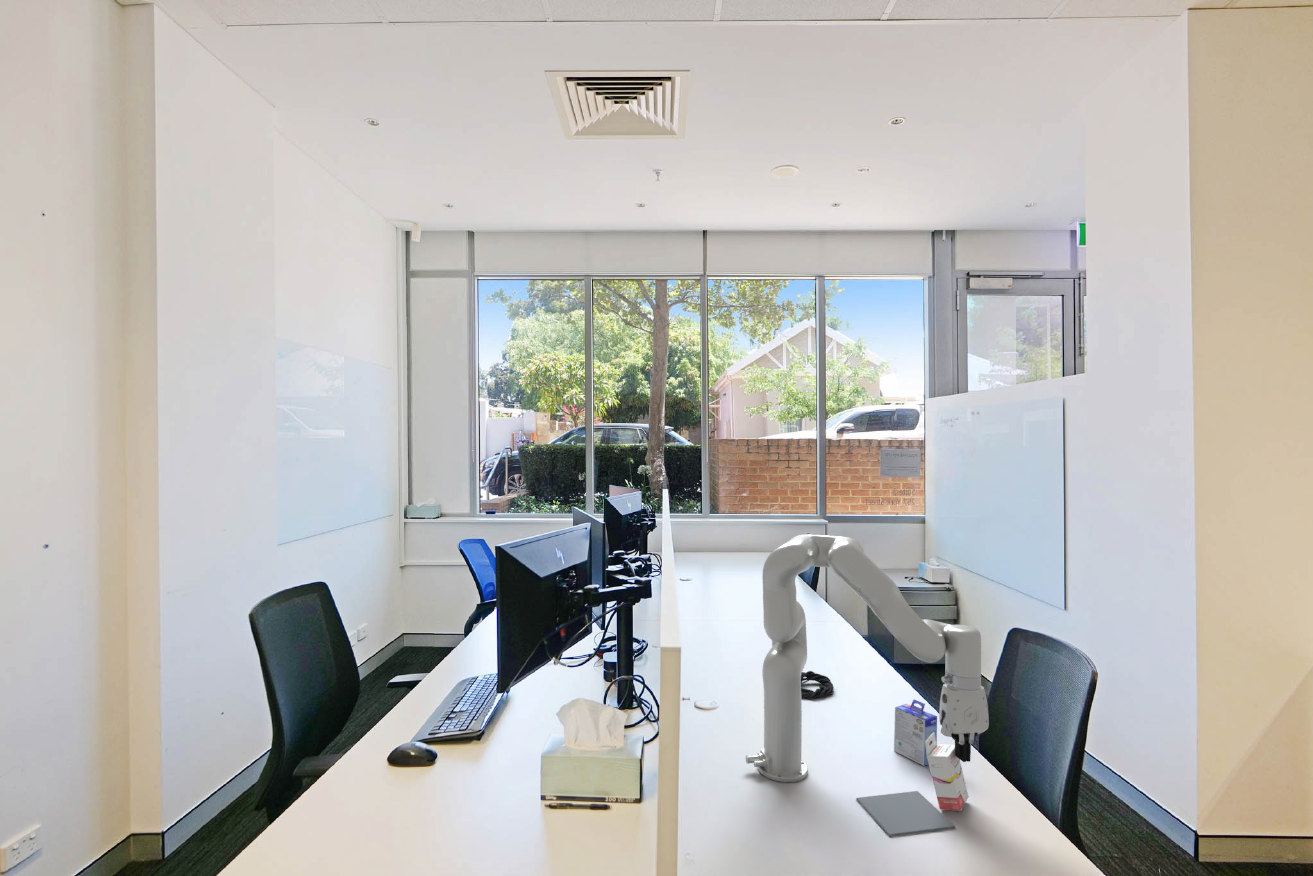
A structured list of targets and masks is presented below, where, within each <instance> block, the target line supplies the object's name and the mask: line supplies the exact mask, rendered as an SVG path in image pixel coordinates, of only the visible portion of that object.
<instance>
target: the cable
mask: <svg viewBox="0 0 1313 876" xmlns="http://www.w3.org/2000/svg"><path fill="white" fill-rule="evenodd" d="M809 681H813V682H814V681H815V682H817V683H819V684H821V685H820V686H819V687H818V688H816V690H815V691H814V690H812V689H808V688H805V687H801V698H802V699H806V700H809V699H816V698H820V697H828V696H830V695H831V694H833V691H834V685H833V683H832V681H831V679H830V678H829V677H828V676H826V675H824V674H821V673H816V672H814V671H812V670H809V671H807V672H803V671H802V673H801V685H803V684H806V683H808V682H809Z"/></svg>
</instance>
